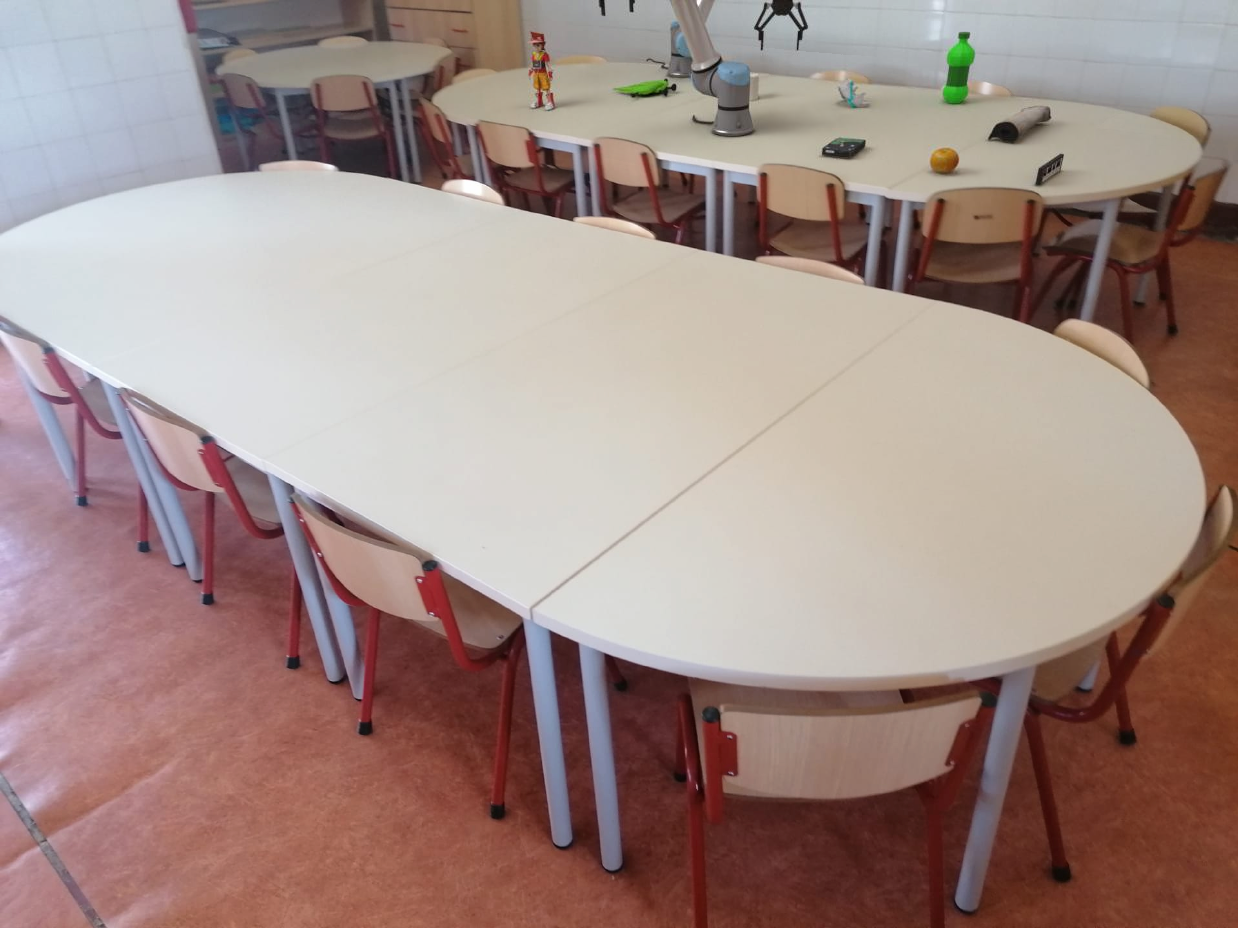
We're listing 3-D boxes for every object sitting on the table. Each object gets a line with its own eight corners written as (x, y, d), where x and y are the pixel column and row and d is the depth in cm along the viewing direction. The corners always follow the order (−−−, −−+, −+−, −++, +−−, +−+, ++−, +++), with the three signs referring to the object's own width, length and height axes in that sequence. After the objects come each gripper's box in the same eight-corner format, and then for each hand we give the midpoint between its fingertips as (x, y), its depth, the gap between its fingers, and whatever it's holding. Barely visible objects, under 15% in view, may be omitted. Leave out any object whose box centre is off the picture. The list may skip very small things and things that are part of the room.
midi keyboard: (1039, 185, 269) (1043, 168, 266) (1035, 184, 270) (1038, 168, 267) (1060, 170, 279) (1064, 154, 277) (1056, 169, 280) (1060, 153, 277)
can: (749, 95, 382) (750, 72, 376) (761, 98, 377) (762, 75, 371) (737, 99, 378) (737, 75, 373) (749, 101, 373) (750, 78, 368)
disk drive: (850, 159, 300) (865, 147, 310) (851, 151, 299) (866, 139, 309) (821, 156, 305) (836, 144, 315) (821, 148, 303) (837, 136, 313)
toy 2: (686, 85, 398) (631, 84, 414) (685, 72, 395) (629, 72, 411) (651, 104, 381) (596, 103, 397) (650, 92, 378) (594, 91, 394)
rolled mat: (1018, 110, 327) (1042, 93, 319) (1032, 131, 328) (1056, 115, 319) (983, 133, 310) (1008, 115, 302) (998, 155, 310) (1023, 138, 302)
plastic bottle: (973, 101, 354) (984, 32, 339) (955, 106, 349) (966, 36, 335) (952, 97, 361) (962, 29, 346) (934, 102, 356) (944, 33, 342)
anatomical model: (833, 78, 362) (858, 71, 361) (836, 104, 368) (860, 97, 367) (844, 86, 350) (869, 79, 349) (846, 113, 356) (871, 106, 355)
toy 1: (525, 109, 381) (517, 32, 364) (534, 104, 388) (527, 28, 371) (550, 110, 377) (543, 32, 360) (559, 105, 384) (553, 28, 367)
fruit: (924, 163, 281) (941, 140, 278) (925, 165, 289) (941, 143, 286) (946, 178, 280) (963, 155, 277) (947, 180, 288) (963, 158, 285)
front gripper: (817, -14, 334) (812, 48, 346) (750, -13, 338) (747, 48, 350) (817, -12, 328) (812, 51, 340) (749, -11, 332) (746, 51, 344)
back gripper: (591, -38, 375) (594, 18, 387) (645, -44, 383) (646, 11, 395) (584, -39, 381) (588, 16, 393) (637, -45, 388) (639, 9, 401)
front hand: (779, 50), depth 345 cm, fingers open, 13 cm apart
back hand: (617, 14), depth 394 cm, fingers open, 13 cm apart
